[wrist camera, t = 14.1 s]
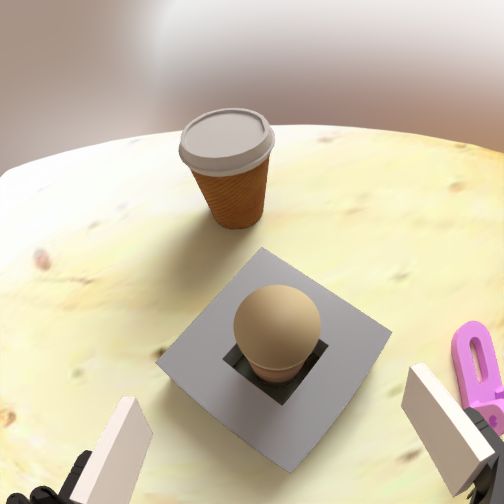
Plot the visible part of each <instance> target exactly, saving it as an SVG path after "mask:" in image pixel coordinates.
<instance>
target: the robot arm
mask: <svg viewBox="0 0 504 504" xmlns="http://www.w3.org/2000/svg"><path fill="white" fill-rule="evenodd" d="M401 407H402V409H403V410H404V412H405V414H406V415H407V417H408V419H409V420H410V422H411V424H412V425H413V427H414V429H415V430H416V432H417V434H418V435H419V437H420V439H421V441H422V442H423V444H424V446H425V448H426V449H427V451H428V453H429V455H430V456H431V458H432V460H433V462H434V463H435V465H436V467H437V469H438V471H439V472H440V474H441V476H442V478H443V480H444V482H445V483H446V485H447V487H448V489H449V491H450V493H451V495H452V497H455V496H457V495H459V494H460V493H462V492H464V491H466V490H467V489H468V488H469V487H470V486H471V485H472V483H474V485H475V486H476V487H475V488H474V489H473V490H472V491H471V493H470V494H469V495H468V497H467V499H469V498H470V497H471V496H472V497H471V501H470V504H504V442H503V441H502V440H501V438H500V437H499V436H498V435H497V433H496V432H495V431H494V430H493V428H492V427H491V426H489V423H488V422H487V421H486V420H484V417H483V416H482V415H481V414H480V413H479V411H477V410H475V409H473V408H471V407H468V408H466V409H464V410H462V409H461V407H460V406H459V405H458V404H457V402H456V401H455V400H454V399H453V397H452V396H451V395H450V394H449V393H448V391H447V390H446V389H445V388H444V387H443V385H442V384H441V383H440V382H439V381H438V379H437V378H436V377H435V376H434V375H433V374H432V372H431V371H430V370H429V369H428V368H427V367H426V365H425V364H424V363H423V362H422V363H418V364H415V365H412V366H410V368H409V373H408V378H407V383H406V387H405V392H404V396H403V400H402V404H401ZM152 435H153V433H152V431H151V429H150V427H149V425H148V423H147V421H146V418H145V416H144V414H143V412H142V410H141V408H140V405H139V403H138V401H137V399H136V397H127V396H122V398H121V400H120V401H119V403H118V405H117V407H116V409H115V411H114V412H113V414H112V416H111V418H110V420H109V422H108V424H107V425H106V427H105V429H104V431H103V433H102V435H101V437H100V439H99V441H98V442H97V444H96V446H95V448H94V450H93V452H92V451H88V450H85V451H84V452H83V453H82V454H81V455H79V456H78V458H77V460H76V462H75V463H74V467H72V469H71V473H69V475H68V477H67V478H66V480H65V482H64V484H63V486H62V488H61V490H60V492H59V494H58V495H57V494H56V493H55V492H54V491H53V490H52V489H51V488H50V487H47V486H39V487H37V488H35V489H34V490H33V491H32V492H31V494H30V500H28V499H27V498H26V497H25V496H24V495H23V494H21V493H13V494H11V495H10V496H9V497H8V498H7V502H6V504H129V503H130V500H131V497H132V494H133V491H134V488H135V485H136V482H137V479H138V476H139V473H140V470H141V467H142V464H143V461H144V458H145V455H146V452H147V450H148V447H149V444H150V441H151V438H152Z"/></svg>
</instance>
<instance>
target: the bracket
mask: <svg viewBox="0 0 504 504" xmlns="http://www.w3.org/2000/svg"><path fill="white" fill-rule="evenodd" d="M470 340H471V341H473V343H474V344H475V348H476V352H477V356H478V360H479V364H480V368H481V373H482V381H481V383H479V381H478V379H477V375H476V370H475V366H474V362H473V357H472V353H471V350H470V345H469V344H470ZM451 351H452V356H453V360H454V365H455V369H456V373H457V378H458V383H459V388H460V393H461V398H462V404H463V410H464V409H466V408H468V407H471V408H473V409H475V410H477V411H479V413H480V414H481V415H482V416H483V417H484V420H486V421H487V422H488V423H489V426H491V427H492V428H493V430H494V431H495V432H496V433H497V435H498V436H501V435H502V434H503V433H504V388H503V386H502V383H501V377H500V373H499V368H498V363H497V359H496V355H495V351H494V347H493V343H492V340H491V336H490V334H489V332H488V330H487V328H486V327H485V326H484V325H483V324H481V323H480V322H477V321H470V322H467V323H466V324H464V325H463V326H461V327H460V328H458V329H457V331H456V332H455V334H454V336H453V338H452V343H451Z"/></svg>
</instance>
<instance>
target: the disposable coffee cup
mask: <svg viewBox="0 0 504 504" xmlns="http://www.w3.org/2000/svg"><path fill="white" fill-rule="evenodd" d="M274 143H275V135H274V132H273V130H272V129H271V127H270V126H269V123H268V122H267V120H266V119H265V118H264V117H263V116H262V115H260V114H259V113H257V112H254V111H252V110H248V109H242V108H226V109H219V110H215V111H211V112H208V113H206V114H203V115H201V116H199V117H197V118H196V119H194V120H193V121H191V122H190V123H189V124H188V125H187V126H186V127H185V129H184V130H183V132H182V134H181V142H180V145H179V155H180V157H181V159H182V161H183V162H184V163H185V164H186V165H187V166H188V167H189V168H190V170H191V172H192V174H193V175H194V178H195V179H196V182H197V184H198V186H199V188H200V189H201V192H202V193H203V196H204V197H205V200H206V202H207V203H208V206H209V208H210V209H211V212H212V213H213V215H214V218H215V220H216V221H217V222H218V223H219V224H220V225H222V226H224V227H226V228H230V229H242V228H246V227H249V226H251V225H253V224H254V223H256V222H257V221H258V220H259V219H260V217H261V216H262V213H263V207H264V198H265V190H266V182H267V173H268V165H269V156H270V153H271V150H272V148H273V146H274Z"/></svg>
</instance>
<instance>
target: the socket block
mask: <svg viewBox="0 0 504 504" xmlns="http://www.w3.org/2000/svg"><path fill="white" fill-rule="evenodd" d="M270 285H285V286H290V287H293V288H295V289H298V290H300V291H301V292H303V293H304V294H306V295H307V296H308V297H309V298H310V299H311V300H312V301H313V303H314V304H315V306H316V308H317V310H318V312H319V315H320V320H321V332H320V336H319V340H318V342H317V344H316V346H315V348H314V349H313V351H312V352H313V353H315V354H316V355H318V356H319V357H320V358H319V359H318V361H317V362H316V363H315V365H314V366H313V367H312V369H311V370H310V371H309V373H308V374H307V375H306V377H305V378H304V379H303V381H302V382H301V383H300V384H299V386H298V387H297V388H296V389H295V391H294V392H293V393H292V394H291V396H290V397H289V398H288V399H287V401H286V402H285V403H284V404H283V405H281V404H279V403H278V402H276V401H275V400H274V399H272V398H271V397H270V396H268V395H267V394H266V393H264V392H263V391H262V390H260V389H259V388H258V387H256V386H255V385H254V384H252V383H251V382H250V381H249V380H247V379H246V378H245V377H243V376H242V375H241V374H240V373H238V372H237V371H236V370H235V369H233V368H232V367H233V366H234V365H235V364H236V363H237V361H238V360H239V359H240V358H241V357H242V356H243V355H244V354H243V353H242V351H241V350H240V348H239V346H238V344H237V342H236V339H235V336H234V330H233V323H234V317H235V314H236V311H237V309H238V307H239V306H240V304H241V303H242V301H243V300H244V299H245V298H246V297H247V296H248V295H249V294H251V293H252V292H254V291H255V290H257V289H260V288H262V287H265V286H270ZM391 334H392V332H391V331H390V330H388V329H387V328H385V327H384V326H382V325H381V324H379V323H378V322H376V321H375V320H373V319H372V318H370V317H369V316H367V315H366V314H364V313H363V312H361V311H360V310H358V309H357V308H355V307H354V306H352V305H350V304H349V303H347V302H346V301H344V300H343V299H341V298H340V297H338V296H337V295H335V294H334V293H332V292H331V291H329V290H328V289H326V288H324V287H323V286H321V285H320V284H318V283H317V282H315V281H314V280H312V279H311V278H309V277H308V276H306V275H304V274H303V273H301V272H300V271H298V270H297V269H295V268H294V267H292V266H291V265H289V264H288V263H286V262H284V261H283V260H281V259H280V258H278V257H277V256H275V255H274V254H272V253H270V252H269V251H267V250H266V249H264V248H263V247H261V248H260V250H259V251H258V252H257V253H256V254H255V255H254V256H253V257H252V258H251V259H250V260H249V261H248V263H247V264H246V265H245V266H244V267H243V268H242V269H241V270H240V271H239V272H238V273H237V275H236V276H235V277H234V278H233V279H232V280H231V281H230V282H229V283H228V284H227V285H226V287H225V288H224V289H223V290H222V291H221V292H220V293H219V294H218V295H217V296H216V297H215V298H214V300H213V301H212V302H211V303H210V304H209V305H208V306H207V307H206V308H205V309H204V310H203V312H202V313H201V314H200V315H199V316H198V317H197V318H196V319H195V320H194V321H193V322H192V323H191V325H190V326H189V327H188V328H187V329H186V330H185V331H184V332H183V333H182V334H181V335H180V336H179V337H178V339H177V340H176V341H175V342H174V343H173V344H172V345H171V346H170V347H169V348H168V349H167V350H166V352H165V353H164V354H163V355H162V356H161V357H160V358H159V359H158V360H157V361H156V362H155V363H156V364H157V365H158V366H159V367H160V368H161V369H162V370H163V371H164V372H165V373H166V374H167V375H168V376H169V377H170V378H171V379H172V380H173V381H174V382H175V383H176V384H178V385H179V386H180V387H181V388H182V389H183V390H184V391H185V392H186V393H187V394H188V395H189V396H190V397H192V398H193V399H194V400H195V401H196V402H197V403H198V404H199V405H201V406H202V407H203V408H204V409H205V410H206V411H207V412H209V413H210V414H211V415H212V416H213V417H214V418H216V419H217V420H218V421H219V422H221V423H222V424H223V425H224V426H225V427H227V428H228V429H229V430H230V431H232V432H233V433H234V434H236V435H237V436H238V437H239V438H241V439H242V440H243V441H245V442H246V443H247V444H249V445H250V446H251V447H253V448H254V449H255V450H257V451H258V452H260V453H261V454H262V455H264V456H265V457H267V458H268V459H270V460H271V461H272V462H274V463H275V464H277V465H278V466H280V467H281V468H283V469H284V470H286V471H287V472H289V473H291V472H292V471H293V470H294V469H295V468H296V467H297V466H298V465H299V464H300V462H301V461H302V460H303V459H304V458H305V457H306V456H307V455H308V453H309V452H310V451H311V450H312V449H313V447H314V446H315V445H316V444H317V443H318V441H319V440H320V439H321V438H322V437H323V435H324V434H325V433H326V432H327V430H328V429H329V428H330V426H331V425H332V424H333V422H334V421H335V420H336V419H337V417H338V416H339V415H340V413H341V412H342V410H343V409H344V408H345V406H346V405H347V404H348V402H349V401H350V399H351V398H352V396H353V395H354V394H355V392H356V391H357V389H358V388H359V386H360V385H361V383H362V382H363V380H364V379H365V377H366V375H367V374H368V372H369V371H370V369H371V368H372V366H373V364H374V363H375V361H376V360H377V358H378V356H379V355H380V353H381V351H382V350H383V348H384V346H385V344H386V343H387V341H388V339H389V337H390V336H391Z"/></svg>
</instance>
